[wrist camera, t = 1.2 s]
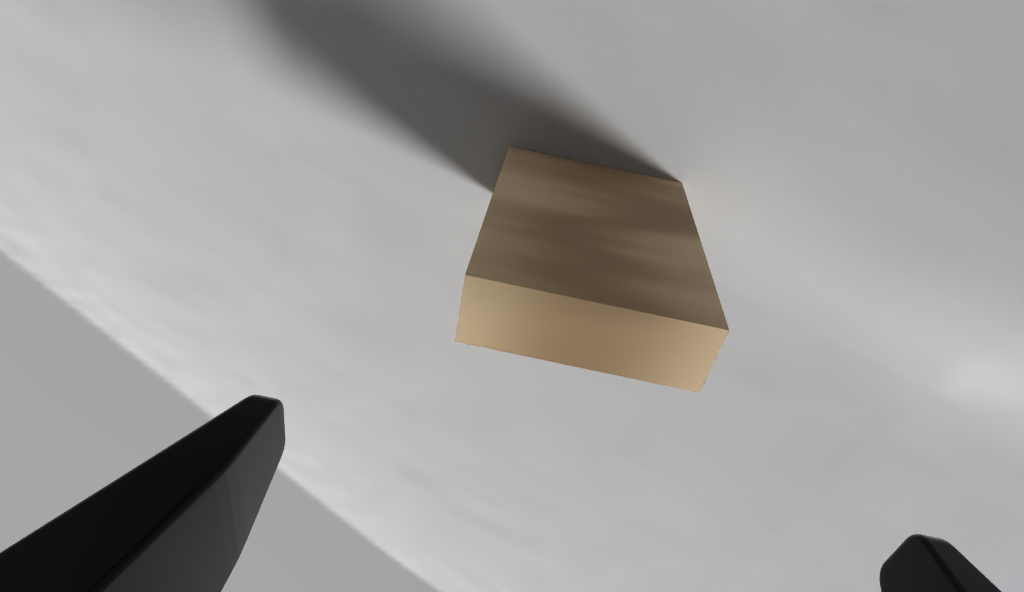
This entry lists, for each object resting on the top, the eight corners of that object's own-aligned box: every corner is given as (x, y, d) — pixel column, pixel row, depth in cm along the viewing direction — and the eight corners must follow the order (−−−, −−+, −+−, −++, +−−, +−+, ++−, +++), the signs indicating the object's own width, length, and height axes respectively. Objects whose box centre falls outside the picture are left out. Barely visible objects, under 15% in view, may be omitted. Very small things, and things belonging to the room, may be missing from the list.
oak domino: (681, 182, 17) (729, 330, 11) (664, 231, 18) (699, 392, 12) (508, 146, 17) (465, 274, 11) (499, 197, 18) (455, 341, 12)
